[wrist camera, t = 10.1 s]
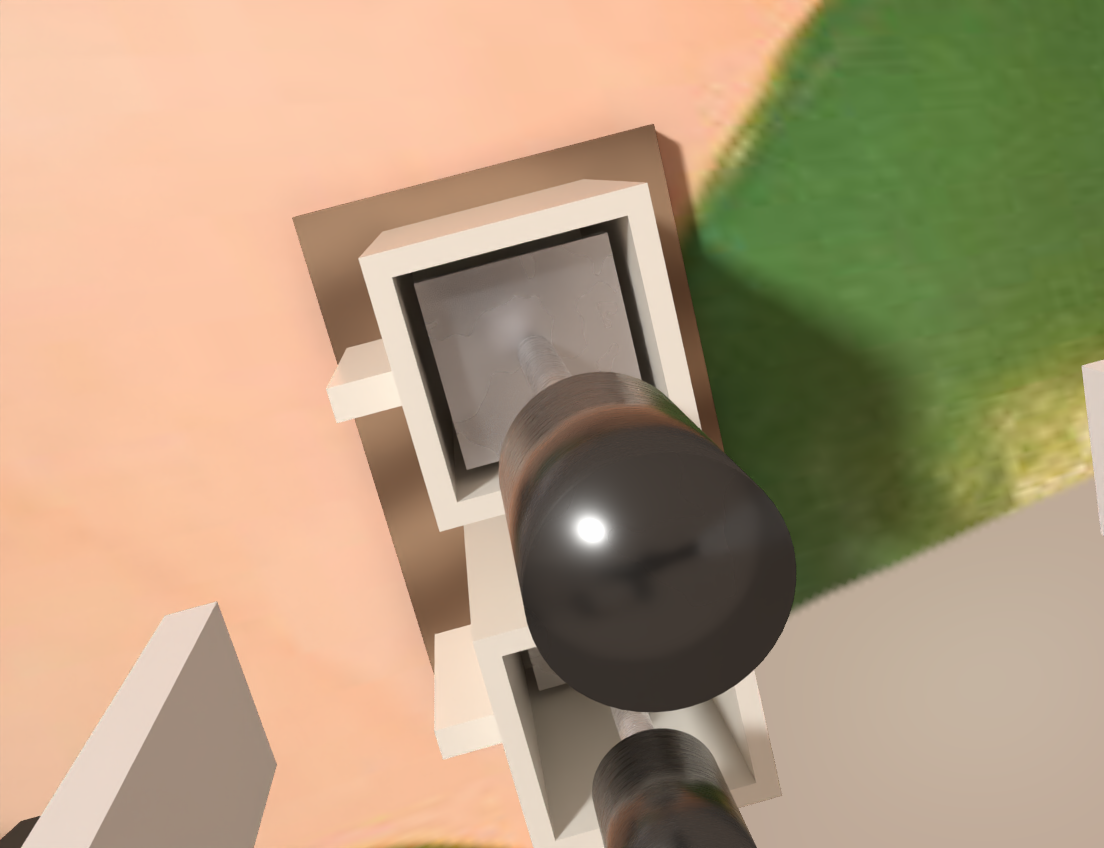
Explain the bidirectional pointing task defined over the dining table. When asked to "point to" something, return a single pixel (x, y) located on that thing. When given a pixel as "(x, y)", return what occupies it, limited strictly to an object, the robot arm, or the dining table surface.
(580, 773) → the square cup with tab
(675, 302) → the walnut board
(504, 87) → the dining table surface
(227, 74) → the dining table surface
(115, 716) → the robot arm
